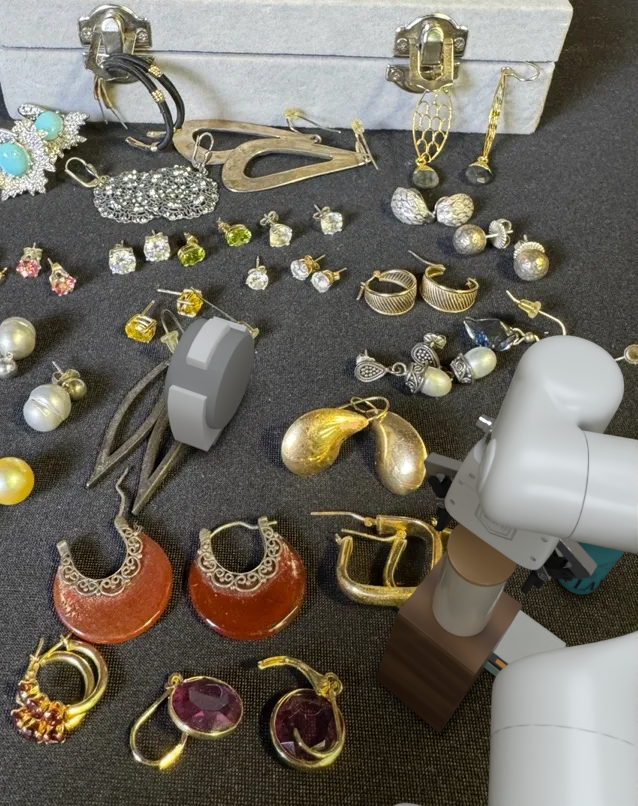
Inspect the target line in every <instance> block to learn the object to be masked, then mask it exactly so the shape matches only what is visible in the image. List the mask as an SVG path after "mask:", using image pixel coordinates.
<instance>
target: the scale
mask: <svg viewBox="0 0 638 806" xmlns="http://www.w3.org/2000/svg"><path fill="white" fill-rule="evenodd" d="M566 647H567V643H566V642H564V641H563V640H562V639H561V638H559V637H558V636H556V635H555V634H554V633H552V632H551V631H550V630H548V629H547V628H546V627H544V626H543V625H541V624H540V623H539V622H537V621H536V620H535V619H533V618H532V617H531V616H530V615H528V614H526V613H525V612H524V611H522V610H521V609H520V611H519V612H518V614H517V616H516V617H515V619H514V621H513V622H512V624H511V625H510V627H509V629H508V630H507V632H506V633H505V635H504V637H503V638H502V640H501V642H500V643H499V645H498V646H497V648H496V650H495V651H494V653H493V654H492V656H491V658H490V659H489V661H488V663H487V664H486V666H485V667H484V669H485V670H487V671H488V672H489V673H490V674H492V675H493V676H494V677H496V676H497V674H498V673H499V672H500V671H501V670H502V669H503V668H504V667H505V666H507V665H508V664H510V663H511V662H513V661H516V660H518V659H521V658H523V657H526V656H528V655H531V654H535V653H539V652H545V651H550V650H554V649H559V648H566Z"/></svg>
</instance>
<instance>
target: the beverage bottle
mask: <svg viewBox="0 0 638 806" xmlns="http://www.w3.org/2000/svg"><path fill="white" fill-rule="evenodd" d="M578 544H579V545H580V546H581V547H582V548H583V549H584V550H585V551H586V553H587V554H588V555H589V556H590V557H591V558H592V559H593V560H594V561H595V563H596V564H597V567H596V569H595V570H594V572H593V573H592V575H591V576H590V577H587V578H579V579H577V578H573V580H572V581H566V580H561V579H557V580H558V582H559V583H560V585H562V587H564V588H565V589H566V590H567V591H569V592H571V593H572V594H577V595H590V594H593V593H594V592H596V591H597V590H598V589H599V588H600V587H601V586H602V584H603V583H604V581H605V579H607V578H608V576H609V575H610V574H611V573H612V570H613V569H614V568H615V566H617V564H618V562H620V560H621V559H622V558H623V557H624V554H625V553H626V551H621V550H617V549H612V548H607V547H602V546H597V545H592V544H587V543H582V542H578ZM562 555H563V554H562ZM563 557H564V555H563Z"/></svg>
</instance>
